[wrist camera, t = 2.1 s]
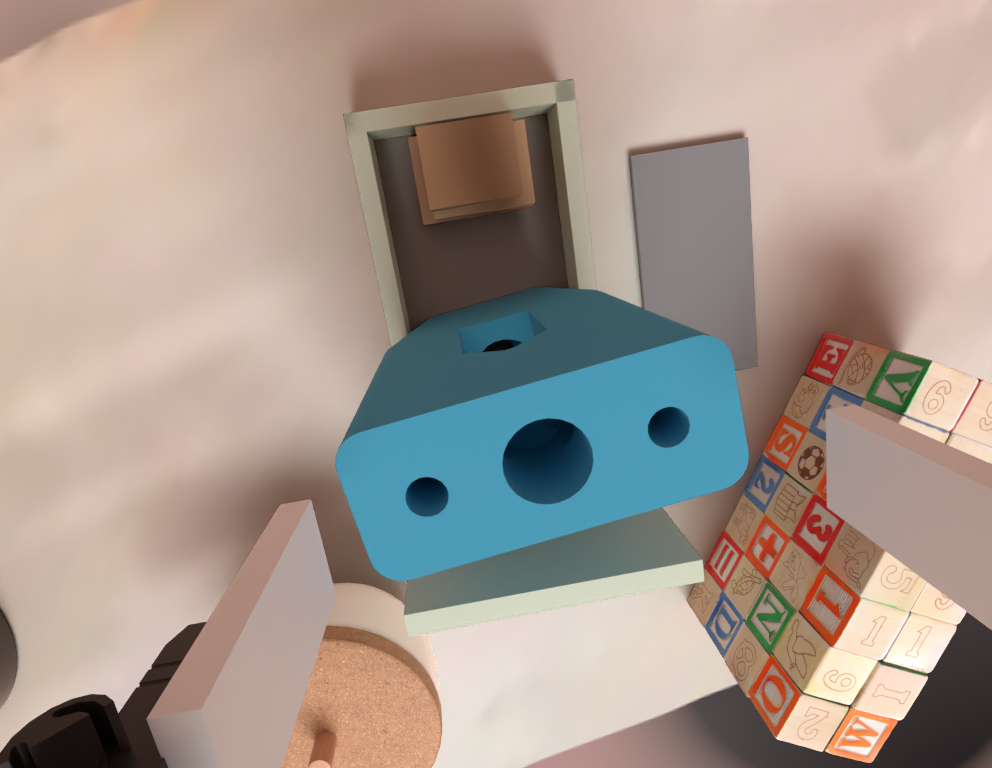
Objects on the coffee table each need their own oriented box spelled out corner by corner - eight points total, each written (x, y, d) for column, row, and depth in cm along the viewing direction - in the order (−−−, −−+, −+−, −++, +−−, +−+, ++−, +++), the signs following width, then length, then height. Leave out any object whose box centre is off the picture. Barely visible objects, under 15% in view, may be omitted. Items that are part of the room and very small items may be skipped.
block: (578, 275, 36) (727, 326, 17) (595, 352, 38) (753, 480, 18) (389, 328, 36) (325, 442, 17) (414, 404, 38) (380, 588, 18)
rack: (423, 474, 39) (408, 637, 23) (351, 124, 33) (270, 32, 18) (602, 443, 39) (704, 581, 24) (562, 91, 34) (660, -25, 18)
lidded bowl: (440, 704, 43) (438, 858, 33) (262, 707, 42) (200, 867, 32) (445, 549, 40) (445, 664, 30) (254, 548, 39) (182, 666, 29)
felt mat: (649, 383, 38) (651, 385, 38) (629, 156, 35) (631, 155, 34) (754, 365, 39) (757, 366, 38) (744, 138, 35) (748, 137, 35)
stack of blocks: (821, 328, 39) (988, 371, 27) (900, 359, 40) (1094, 415, 28) (684, 602, 43) (775, 744, 31) (759, 624, 44) (874, 769, 32)
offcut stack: (424, 225, 35) (419, 224, 28) (410, 144, 34) (400, 120, 26) (525, 209, 35) (545, 203, 28) (514, 128, 34) (532, 100, 27)
